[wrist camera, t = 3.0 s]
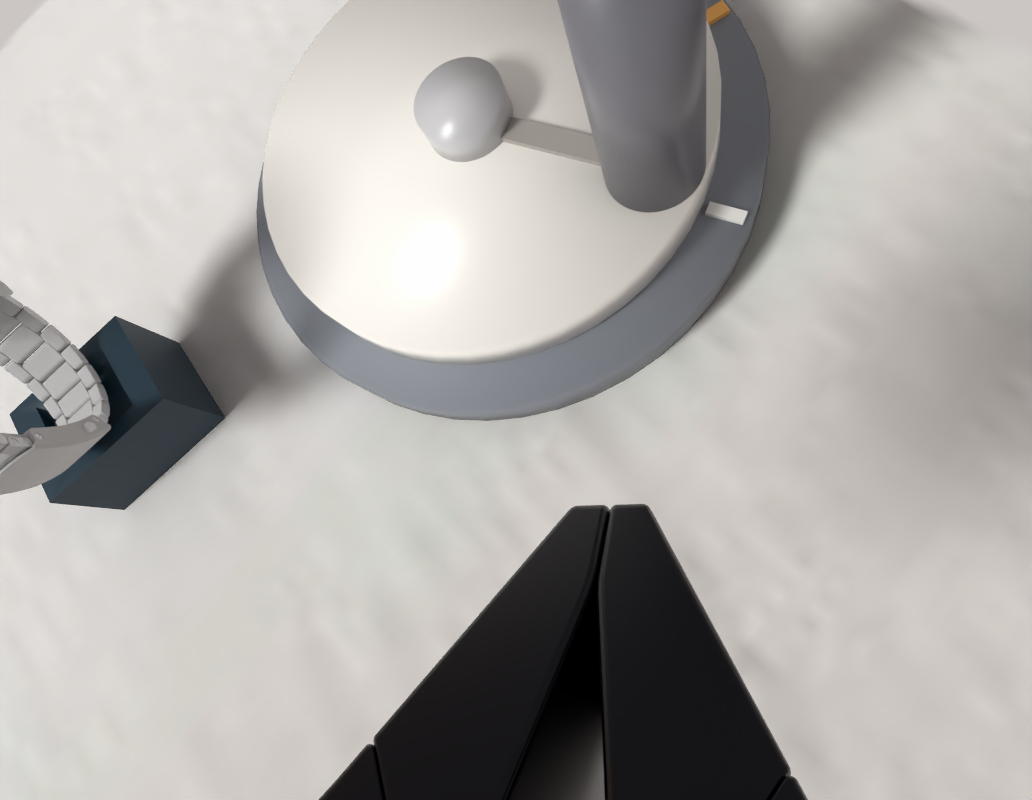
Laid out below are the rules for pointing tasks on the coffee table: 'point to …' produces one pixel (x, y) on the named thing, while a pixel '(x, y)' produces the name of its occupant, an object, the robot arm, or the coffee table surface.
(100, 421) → the watch
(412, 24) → the dial
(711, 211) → the dial base
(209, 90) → the coffee table surface
